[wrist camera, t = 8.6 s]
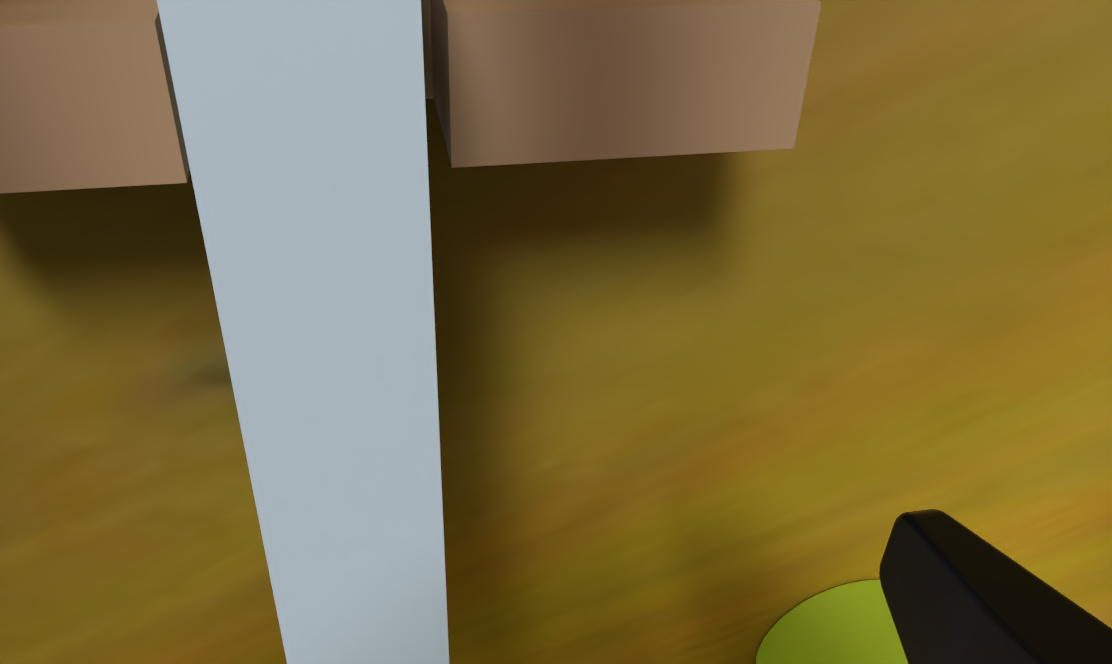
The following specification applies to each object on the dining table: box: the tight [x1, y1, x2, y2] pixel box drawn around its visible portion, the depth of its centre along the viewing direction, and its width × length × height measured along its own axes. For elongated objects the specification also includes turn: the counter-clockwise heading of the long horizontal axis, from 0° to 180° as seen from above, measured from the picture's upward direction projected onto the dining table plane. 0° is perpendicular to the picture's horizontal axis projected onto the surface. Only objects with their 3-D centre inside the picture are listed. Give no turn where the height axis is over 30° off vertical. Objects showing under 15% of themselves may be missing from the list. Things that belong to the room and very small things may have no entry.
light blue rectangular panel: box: [157, 0, 449, 664], centre depth 16 cm, size 14×2×9 cm, turn 178°
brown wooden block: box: [0, 0, 822, 193], centre depth 15 cm, size 14×2×5 cm, turn 88°
